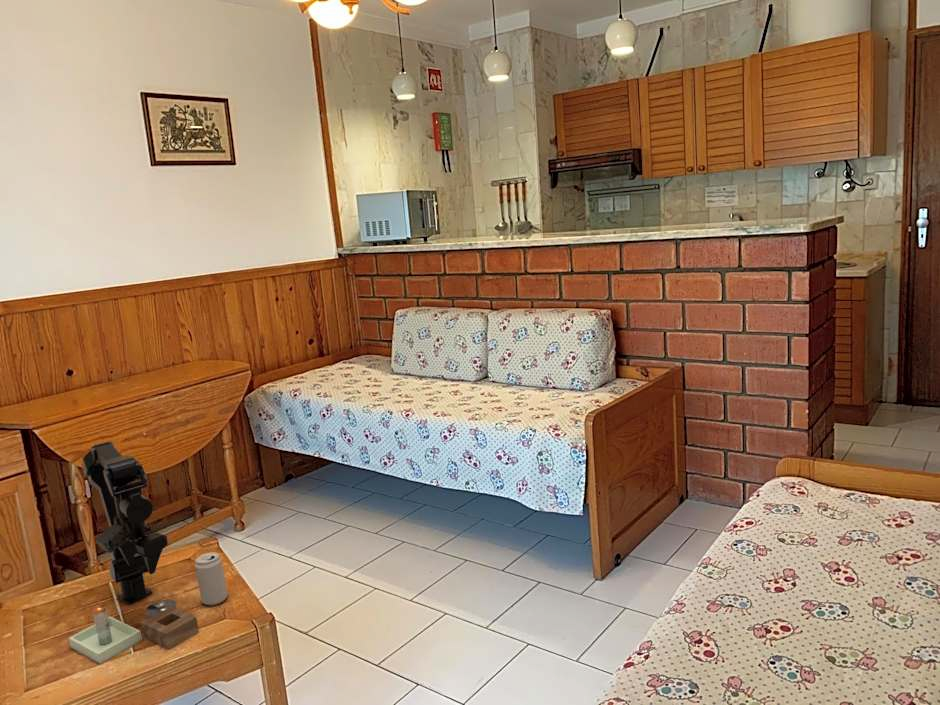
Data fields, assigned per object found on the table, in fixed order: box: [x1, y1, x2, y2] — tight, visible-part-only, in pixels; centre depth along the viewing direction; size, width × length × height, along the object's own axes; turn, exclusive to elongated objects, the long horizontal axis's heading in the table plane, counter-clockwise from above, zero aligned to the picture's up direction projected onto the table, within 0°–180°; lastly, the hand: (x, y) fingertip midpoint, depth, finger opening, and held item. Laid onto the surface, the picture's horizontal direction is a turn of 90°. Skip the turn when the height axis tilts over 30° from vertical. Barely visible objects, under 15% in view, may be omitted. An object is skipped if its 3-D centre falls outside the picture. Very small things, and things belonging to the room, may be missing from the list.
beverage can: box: [194, 551, 228, 606], centre depth 189 cm, size 6×6×12 cm
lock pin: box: [91, 603, 112, 646], centre depth 174 cm, size 3×3×9 cm
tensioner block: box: [141, 606, 200, 650], centre depth 176 cm, size 10×8×4 cm
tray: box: [68, 616, 143, 665], centre depth 175 cm, size 13×10×2 cm
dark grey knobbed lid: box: [145, 598, 178, 620], centre depth 185 cm, size 7×7×3 cm
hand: (141, 569), depth 182 cm, fingers open, 9 cm apart
